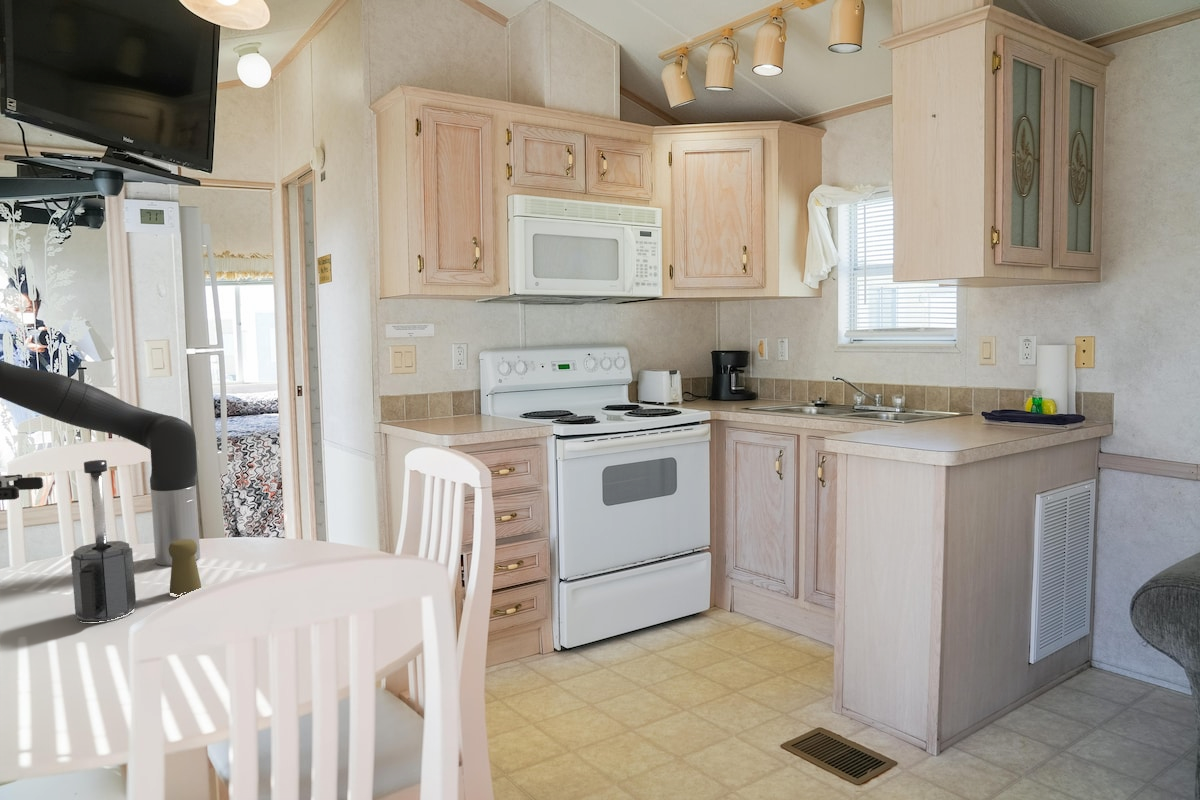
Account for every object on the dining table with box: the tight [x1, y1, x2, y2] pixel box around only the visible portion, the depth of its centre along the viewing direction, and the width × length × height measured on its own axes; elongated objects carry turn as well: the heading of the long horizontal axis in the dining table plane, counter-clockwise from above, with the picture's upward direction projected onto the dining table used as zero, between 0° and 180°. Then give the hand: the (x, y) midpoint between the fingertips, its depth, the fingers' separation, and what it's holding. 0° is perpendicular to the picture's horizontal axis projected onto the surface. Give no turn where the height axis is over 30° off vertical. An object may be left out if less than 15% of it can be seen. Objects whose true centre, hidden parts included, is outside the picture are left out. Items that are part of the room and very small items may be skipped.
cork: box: [169, 539, 202, 599], centre depth 167 cm, size 6×6×11 cm
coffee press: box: [70, 540, 137, 622], centre depth 153 cm, size 12×9×13 cm
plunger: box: [83, 459, 108, 550], centre depth 153 cm, size 6×6×21 cm
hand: (30, 487), depth 151 cm, fingers open, 8 cm apart
